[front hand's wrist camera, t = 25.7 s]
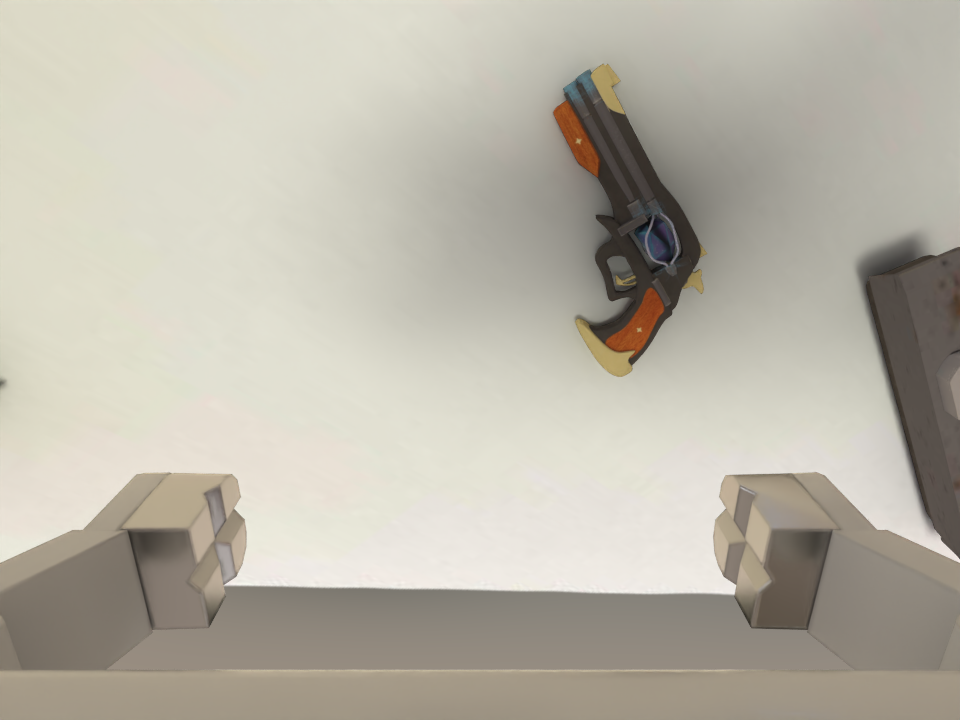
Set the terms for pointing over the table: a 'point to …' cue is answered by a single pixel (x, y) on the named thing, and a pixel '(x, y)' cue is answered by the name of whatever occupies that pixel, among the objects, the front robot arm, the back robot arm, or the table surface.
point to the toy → (926, 374)
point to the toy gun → (628, 221)
